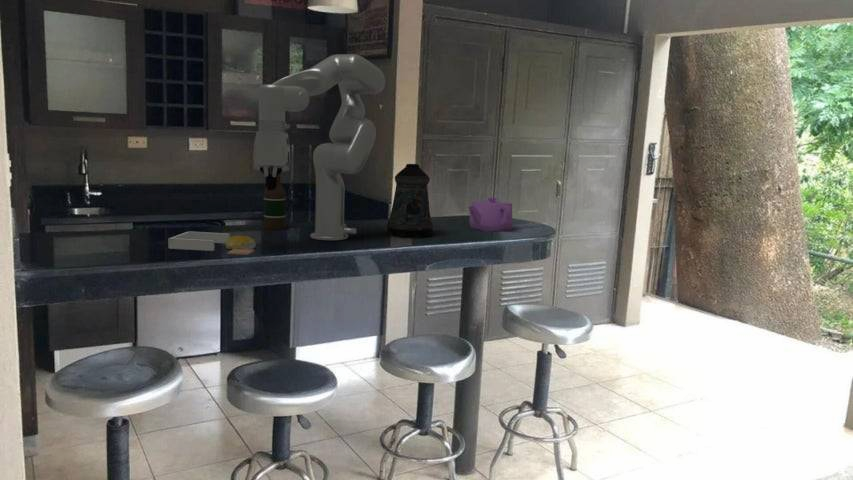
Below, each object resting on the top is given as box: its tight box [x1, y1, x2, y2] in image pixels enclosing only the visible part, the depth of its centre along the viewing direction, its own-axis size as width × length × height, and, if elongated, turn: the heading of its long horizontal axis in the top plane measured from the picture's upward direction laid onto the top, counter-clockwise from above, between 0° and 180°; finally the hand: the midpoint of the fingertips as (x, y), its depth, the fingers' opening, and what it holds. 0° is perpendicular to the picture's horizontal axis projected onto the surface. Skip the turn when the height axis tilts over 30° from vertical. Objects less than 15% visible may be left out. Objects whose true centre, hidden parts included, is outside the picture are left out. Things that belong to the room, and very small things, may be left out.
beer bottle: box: [263, 166, 287, 231], centre depth 250 cm, size 8×8×24 cm
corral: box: [167, 231, 231, 252], centre depth 213 cm, size 14×14×3 cm
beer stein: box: [386, 163, 434, 239], centre depth 249 cm, size 16×19×25 cm
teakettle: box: [468, 196, 513, 233], centre depth 272 cm, size 17×17×12 cm
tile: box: [226, 249, 255, 256], centre depth 204 cm, size 6×6×1 cm
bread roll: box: [224, 235, 257, 250], centre depth 212 cm, size 8×9×4 cm
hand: (271, 189), depth 208 cm, fingers closed
